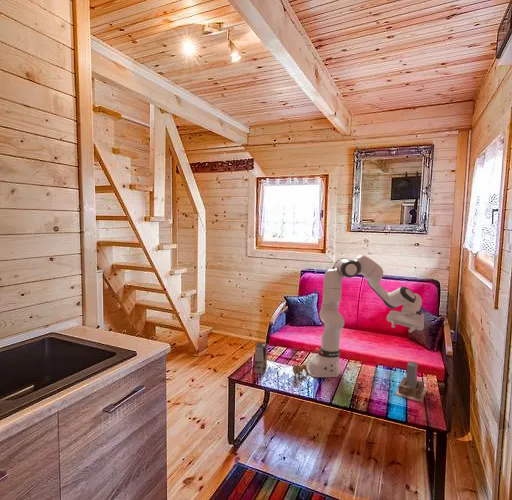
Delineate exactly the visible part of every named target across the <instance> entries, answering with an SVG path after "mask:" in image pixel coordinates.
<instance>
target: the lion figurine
mask: <svg viewBox="0 0 512 500" xmlns="http://www.w3.org/2000/svg"><path fill="white" fill-rule="evenodd" d="M304 371H305V375H306V376H308V375H309V374H308V370H307V365H306V364H305V363H302V364H300V365H299V364H297V363H296V364H294V365H293V366H292V373H294V376H293V378H297V379H298V380H300V379H301V375H303V373H304ZM297 375H298V376H297Z"/></svg>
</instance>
